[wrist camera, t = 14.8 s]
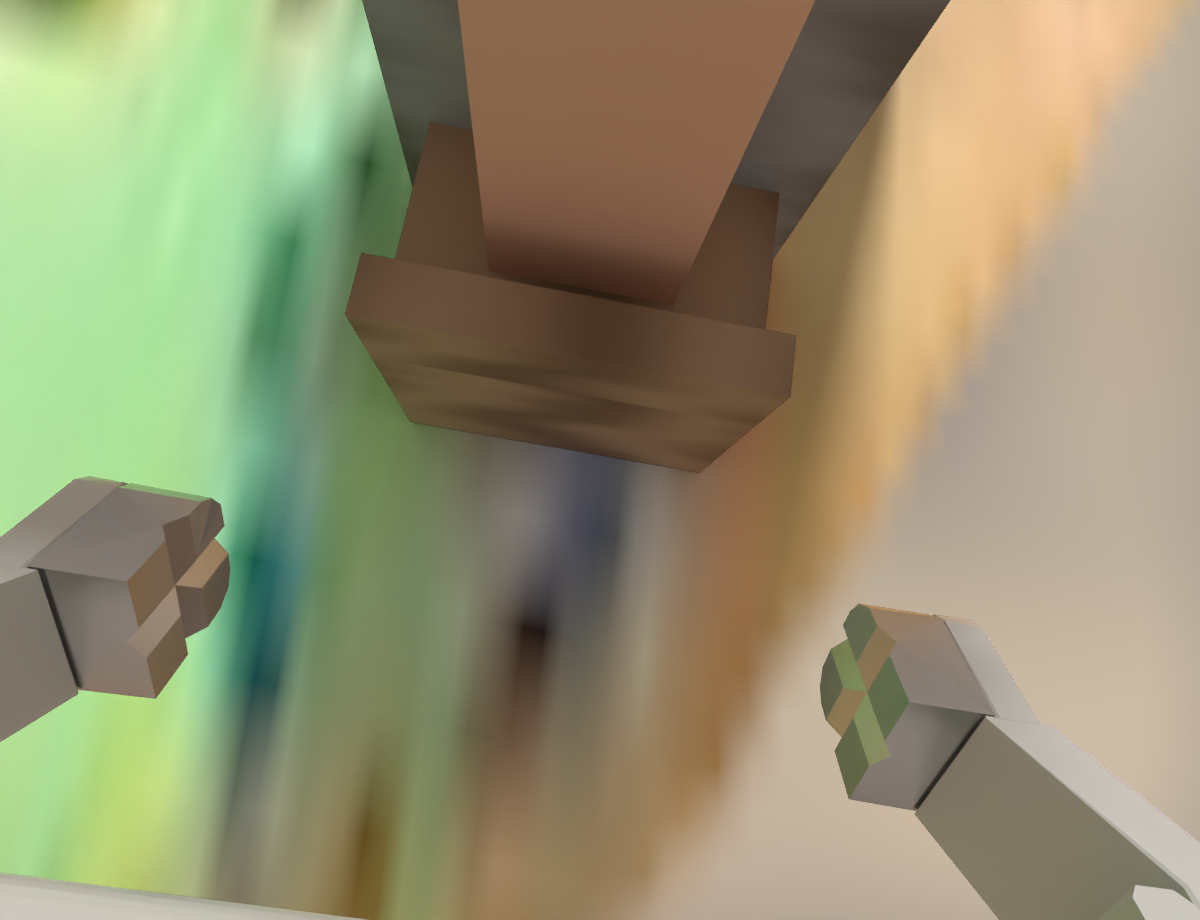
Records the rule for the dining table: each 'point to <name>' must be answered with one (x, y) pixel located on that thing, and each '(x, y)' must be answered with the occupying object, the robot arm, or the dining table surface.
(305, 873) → the dining table surface
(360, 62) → the dining table surface
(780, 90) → the wall board with cleat
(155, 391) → the dining table surface
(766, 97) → the salmon brown rectangular block
